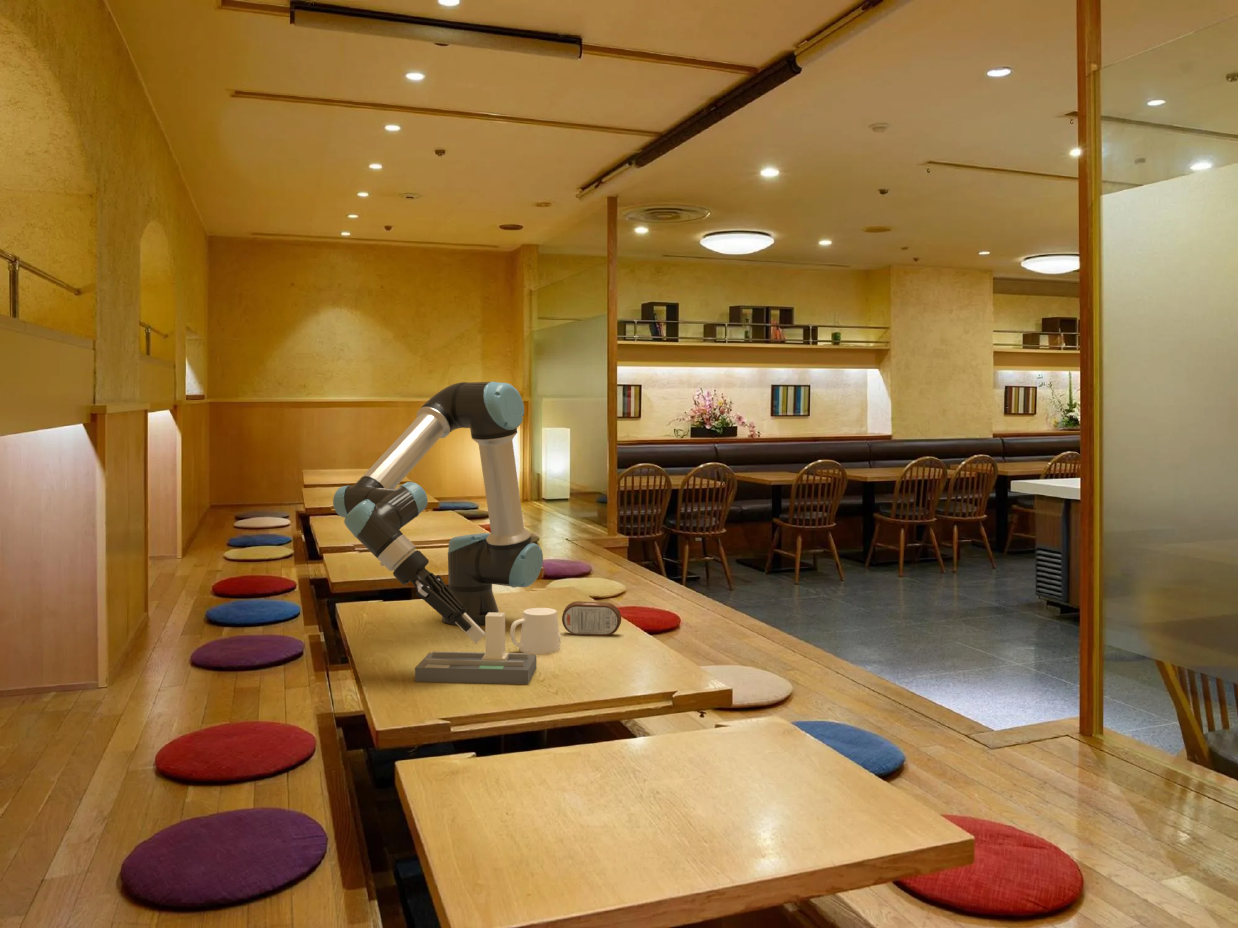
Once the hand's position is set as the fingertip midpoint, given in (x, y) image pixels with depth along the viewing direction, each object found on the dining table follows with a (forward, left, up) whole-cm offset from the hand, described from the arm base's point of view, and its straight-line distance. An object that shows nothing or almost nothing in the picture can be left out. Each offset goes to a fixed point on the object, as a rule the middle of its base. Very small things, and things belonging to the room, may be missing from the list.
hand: (481, 638), depth 204 cm
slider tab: (0, +3, -5) cm, 6 cm away
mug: (-21, +9, -8) cm, 24 cm away
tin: (-37, +21, -8) cm, 43 cm away
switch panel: (0, -1, -8) cm, 8 cm away
